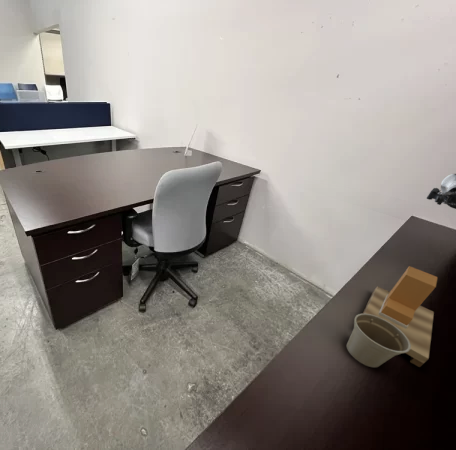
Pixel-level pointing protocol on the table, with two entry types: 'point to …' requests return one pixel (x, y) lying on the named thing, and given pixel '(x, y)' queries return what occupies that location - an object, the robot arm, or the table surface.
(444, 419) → the table surface
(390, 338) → the flower pot
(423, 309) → the wooden board
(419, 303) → the orange block
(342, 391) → the table surface
